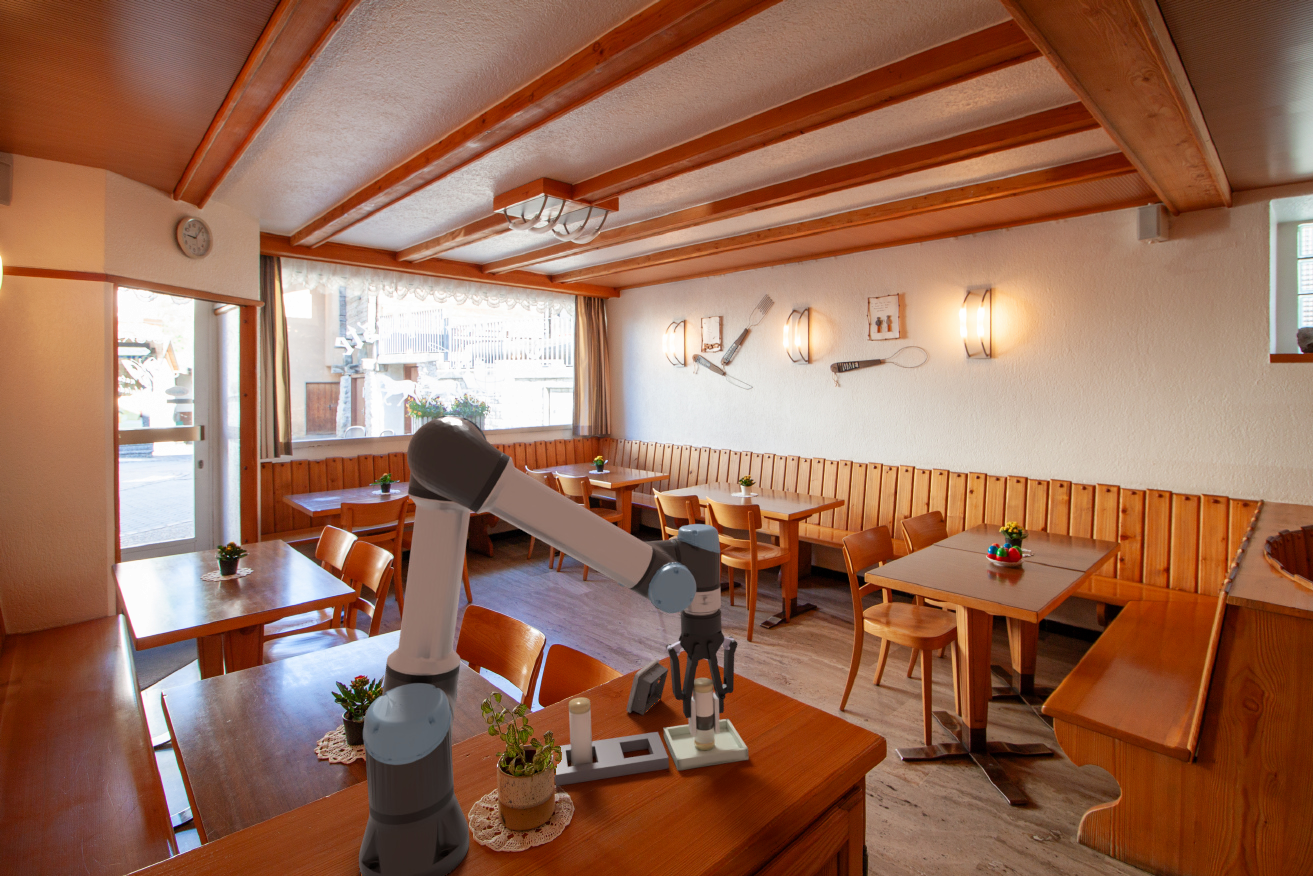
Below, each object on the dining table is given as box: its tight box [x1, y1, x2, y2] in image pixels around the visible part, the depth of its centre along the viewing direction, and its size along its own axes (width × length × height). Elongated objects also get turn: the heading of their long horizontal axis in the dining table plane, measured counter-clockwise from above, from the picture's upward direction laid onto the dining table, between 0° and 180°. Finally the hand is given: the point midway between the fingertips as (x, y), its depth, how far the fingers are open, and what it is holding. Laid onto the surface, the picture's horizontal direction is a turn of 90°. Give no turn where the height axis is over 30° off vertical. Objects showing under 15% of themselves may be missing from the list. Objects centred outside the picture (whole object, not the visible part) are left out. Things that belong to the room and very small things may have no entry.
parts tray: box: [663, 718, 749, 772], centre depth 120 cm, size 13×11×2 cm
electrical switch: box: [626, 657, 669, 716], centre depth 136 cm, size 9×5×9 cm, turn 151°
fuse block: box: [554, 731, 670, 787], centre depth 116 cm, size 20×9×2 cm, turn 102°
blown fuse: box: [692, 677, 715, 750], centre depth 119 cm, size 4×4×12 cm
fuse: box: [568, 697, 594, 767], centre depth 115 cm, size 4×4×12 cm
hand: (704, 730), depth 120 cm, fingers closed on blown fuse, 4 cm apart
